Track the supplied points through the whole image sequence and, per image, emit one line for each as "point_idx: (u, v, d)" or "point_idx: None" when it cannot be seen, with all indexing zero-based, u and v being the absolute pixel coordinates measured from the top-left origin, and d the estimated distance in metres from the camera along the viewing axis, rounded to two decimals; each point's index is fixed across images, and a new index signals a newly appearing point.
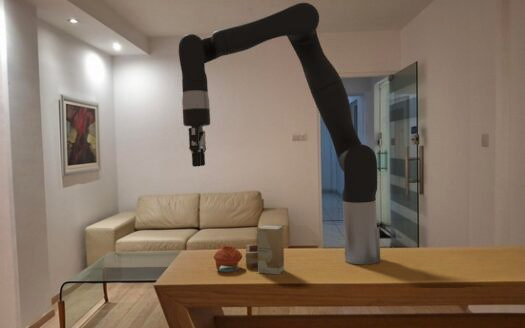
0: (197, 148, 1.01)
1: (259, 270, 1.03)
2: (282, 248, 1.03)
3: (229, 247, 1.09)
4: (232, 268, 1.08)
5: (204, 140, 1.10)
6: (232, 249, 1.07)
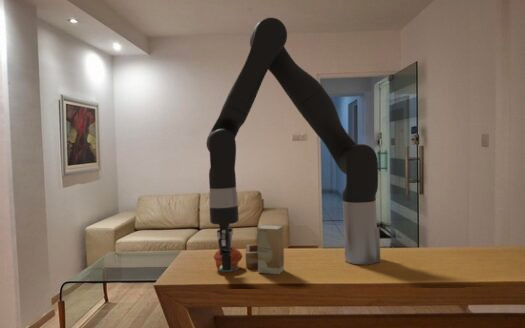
0: (228, 255, 0.99)
1: (259, 270, 1.03)
2: (282, 248, 1.03)
3: None
4: (232, 268, 1.08)
5: None
6: (232, 249, 1.07)
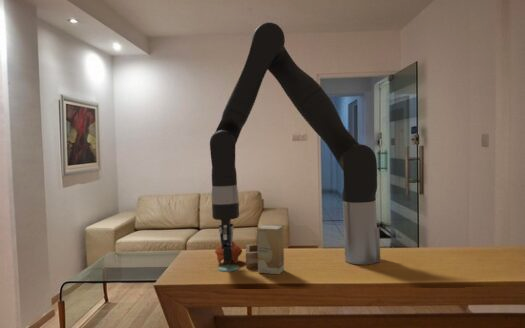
0: (229, 248, 1.06)
1: (259, 270, 1.03)
2: (282, 248, 1.03)
3: None
4: (232, 268, 1.08)
5: None
6: (233, 244, 1.13)
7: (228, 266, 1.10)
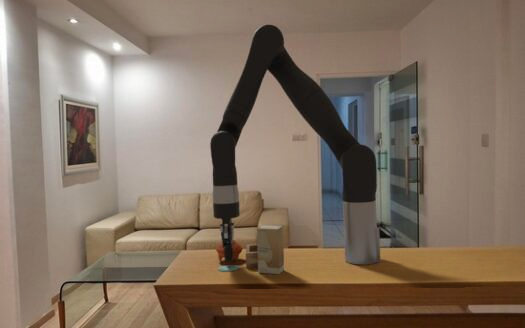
0: (230, 247, 1.08)
1: (259, 270, 1.03)
2: (282, 248, 1.03)
3: None
4: (232, 268, 1.08)
5: (233, 230, 1.11)
6: (233, 242, 1.16)
7: (228, 266, 1.10)
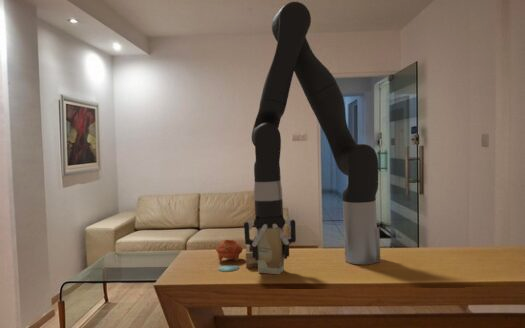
0: None
1: (259, 270, 1.03)
2: (282, 248, 1.03)
3: (230, 241, 1.18)
4: (232, 268, 1.08)
5: None
6: (233, 242, 1.16)
7: (228, 266, 1.10)
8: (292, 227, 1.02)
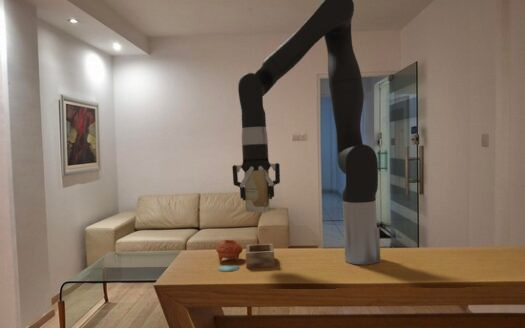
0: (234, 184, 1.11)
1: (246, 209, 1.12)
2: (267, 189, 1.12)
3: (230, 241, 1.18)
4: (232, 268, 1.08)
5: None
6: (233, 242, 1.16)
7: (228, 266, 1.10)
8: (276, 169, 1.11)
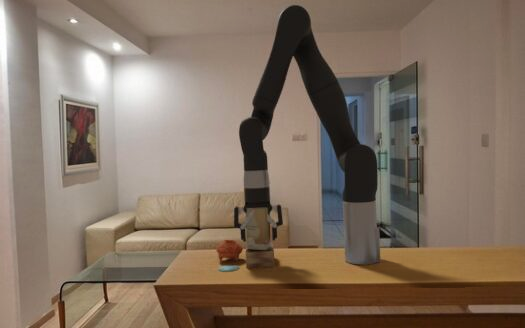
0: None
1: (248, 246, 1.12)
2: (269, 226, 1.12)
3: (230, 241, 1.18)
4: (232, 268, 1.08)
5: None
6: (233, 242, 1.16)
7: (228, 266, 1.10)
8: (278, 211, 1.12)
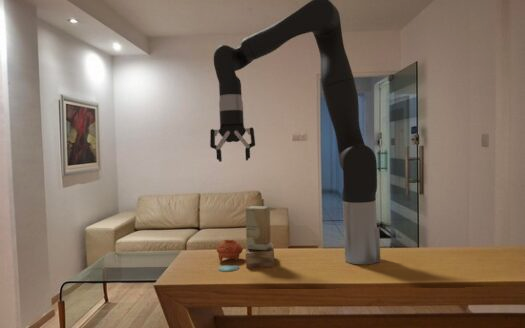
0: (210, 146, 1.22)
1: (248, 246, 1.12)
2: (269, 226, 1.12)
3: (230, 241, 1.18)
4: (232, 268, 1.08)
5: (238, 137, 1.21)
6: (234, 242, 1.16)
7: (228, 266, 1.10)
8: (251, 133, 1.21)
